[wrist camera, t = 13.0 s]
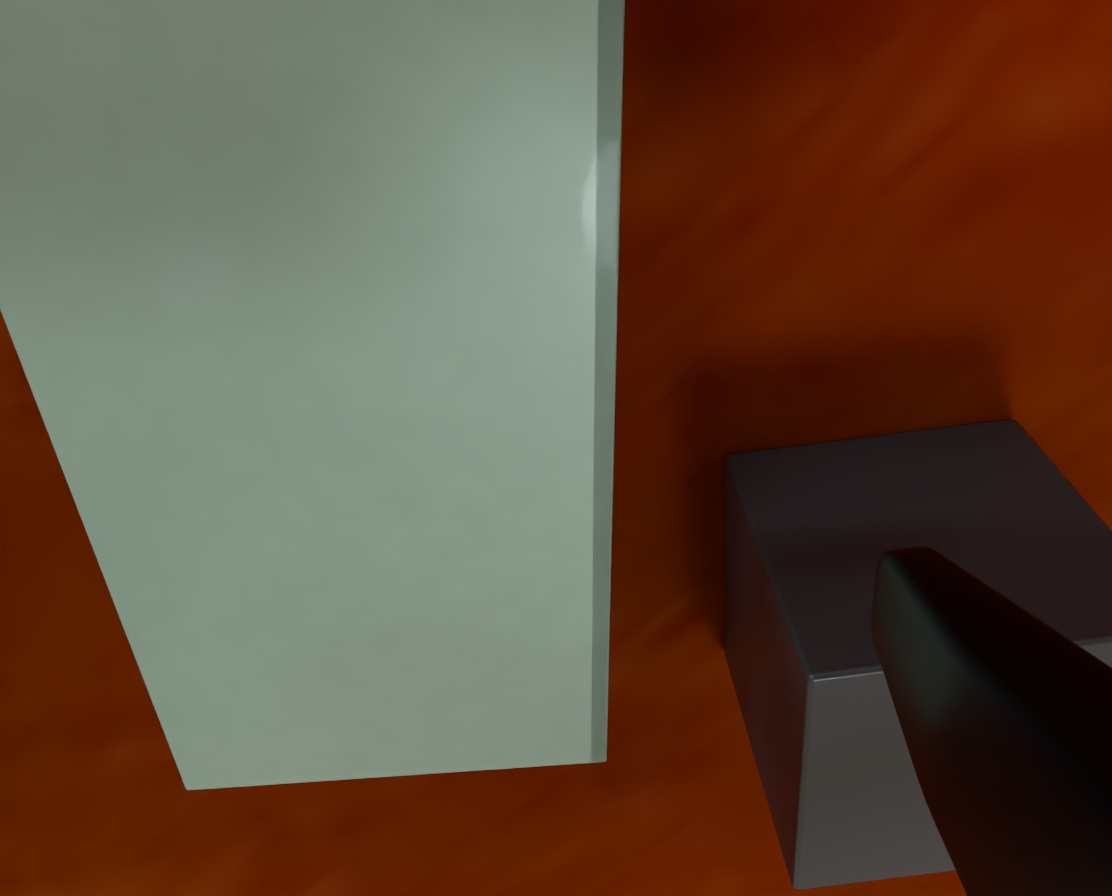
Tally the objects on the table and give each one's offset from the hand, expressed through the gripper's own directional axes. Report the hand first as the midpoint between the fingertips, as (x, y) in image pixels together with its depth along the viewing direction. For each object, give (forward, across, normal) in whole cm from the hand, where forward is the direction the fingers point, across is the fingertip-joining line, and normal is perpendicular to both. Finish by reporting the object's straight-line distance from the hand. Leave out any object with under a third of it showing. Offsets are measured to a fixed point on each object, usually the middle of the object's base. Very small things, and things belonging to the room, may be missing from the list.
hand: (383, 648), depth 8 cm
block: (+7, -7, +6) cm, 12 cm away
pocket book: (+7, +1, 0) cm, 7 cm away
